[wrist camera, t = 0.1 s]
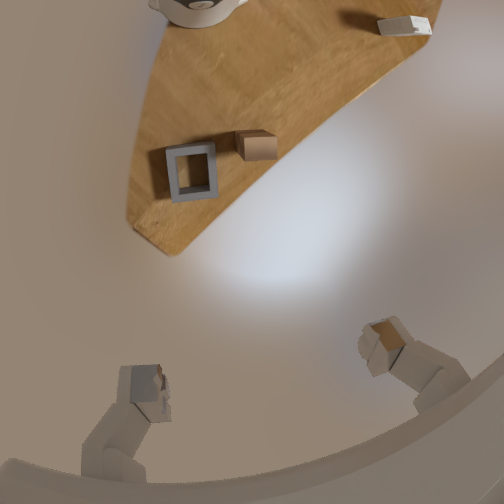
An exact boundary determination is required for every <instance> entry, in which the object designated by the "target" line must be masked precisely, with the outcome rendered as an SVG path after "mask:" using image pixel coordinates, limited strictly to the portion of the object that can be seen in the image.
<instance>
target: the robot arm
mask: <svg viewBox="0 0 504 504" xmlns="http://www.w3.org/2000/svg"><path fill="white" fill-rule="evenodd" d="M247 1H248V0H149V7H150V8H152V9H154V10H157V11H160V12H161V13H162V14H164V15H165V17H166V18H167V19H168V20H170V21H171V22H173V23H174V24H176V25H179V26H182V27H186V28H204V27H209V26H212V25H215V24H217V23H219V22H221V21H223V20H224V19H225V18H227V17H228V16H229V15H230V14H231V13H232V12H233V10H234V9H235V8H236V7H238V6H240V5H242V4H244V3H246V2H247ZM362 331H363V333H364V334H363V335H362V336H361V337H360V338H359V341H358V350H359V353H360V355H361V357H362V358H364V359H366V360H367V367H368V369H369V370H370V372H371V374H372V376H373V377H375V376H378V375H380V374H383V373H386V372H389V373H391V374H392V375H394V376H395V377H397V378H398V379H399V380H401V381H402V382H404V383H406V384H407V385H408V386H410V387H411V388H413V389H414V390H416V391H417V392H419V393H420V394H419V395H418V396H417V397H416V398H415V399H414V402H413V404H414V405H415V407H416V409H417V411H418V413H419V415H417V416H416V417H414V418H412V419H410V420H408V421H407V422H405V423H403V424H401V425H399V426H397V427H395V428H393V429H391V430H389V431H387V432H385V433H383V434H381V435H379V436H376V437H374V438H372V439H370V440H367V441H365V442H363V443H360V444H358V445H356V446H353V447H350V448H348V449H345V450H342V451H340V452H337V453H334V454H331V455H328V456H326V457H323V458H319V459H316V460H313V461H310V462H306V463H303V464H300V465H296V466H292V467H288V468H284V469H280V470H275V471H271V472H266V473H261V474H256V475H251V476H245V477H238V478H231V479H224V480H215V481H205V482H189V483H147V481H146V471H145V467H144V466H143V465H141V464H140V463H138V462H137V461H135V460H133V457H134V455H135V453H136V451H137V449H138V447H139V446H140V444H141V442H142V440H143V438H144V436H145V435H146V433H147V431H148V429H149V427H150V425H151V423H160V422H171V408H170V405H169V404H168V402H167V400H168V399H169V398H170V390H169V385H168V381H167V378H166V376H165V375H164V374H162V368H161V366H160V364H152V365H130V366H121V368H120V370H119V378H118V388H117V401H116V403H113V404H112V405H111V407H110V408H109V409H108V411H107V412H106V413H105V415H104V416H103V417H102V419H101V420H100V421H99V423H98V424H97V425H96V427H95V428H94V429H93V431H92V432H91V433H90V435H89V436H88V437H87V439H86V440H85V441H84V443H83V444H82V460H81V476H80V475H74V474H70V473H65V472H60V471H57V470H53V469H49V468H45V467H41V466H38V465H35V464H31V463H28V462H25V461H22V460H19V459H16V458H9V459H8V460H7V461H6V462H4V464H3V465H2V466H1V467H0V504H504V353H503V354H502V355H501V356H500V357H499V358H498V359H496V360H495V361H494V362H493V363H492V364H491V365H489V366H488V367H487V368H486V369H485V370H483V371H482V372H481V373H480V374H478V375H477V376H476V377H475V378H473V379H472V380H471V378H470V377H469V376H468V374H467V373H466V371H465V370H464V368H463V367H462V366H461V364H460V363H459V361H458V360H457V359H455V358H453V357H451V356H449V355H447V354H445V353H443V352H440V351H439V350H437V349H435V348H432V347H431V346H428V345H426V344H424V343H422V342H420V341H418V340H417V341H415V340H414V338H413V337H412V336H411V334H410V333H409V332H408V330H407V329H406V328H405V326H404V325H403V324H402V322H401V321H400V320H399V318H398V317H396V316H391V317H389V318H386V319H381V320H379V321H375V322H373V323H369V324H366V325H365V326H364V328H363V330H362Z"/></svg>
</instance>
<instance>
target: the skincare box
mask: <svg viewBox="0 0 504 504" xmlns="http://www.w3.org/2000/svg"><path fill="white" fill-rule="evenodd" d="M377 24H378V27H379V31H380V34H381V36H409V35H432V31H431V28H430V25H429V21H428V19H427V18H424V17H417V16H402V17H395V18H389V19H383V20H377Z"/></svg>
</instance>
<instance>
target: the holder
mask: <svg viewBox="0 0 504 504" xmlns="http://www.w3.org/2000/svg"><path fill="white" fill-rule="evenodd" d="M202 153H207V167H208V181H209V185H202V186H193V187H185V188H179V179H178V170H177V161H176V157H177V156H184V155H193V154H202ZM166 159H167V167H168V176H169V183H170V191H171V198H172V203H177V202H185V201H193V200H201V199H210V198H219V197H218V182H217V167H216V150H215V143H214V141H208V142H198V143H189V144H181V145H173V146H167V148H166Z"/></svg>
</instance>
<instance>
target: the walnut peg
mask: <svg viewBox="0 0 504 504" xmlns="http://www.w3.org/2000/svg"><path fill="white" fill-rule="evenodd" d="M235 148H236V151H237V152H238V154H239V155H240V156H241V157H242V158H243V160H244V161H258V160H277V136H275V135H273V134H271V133H269V132H267V131H265V130H239V131H235Z"/></svg>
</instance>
